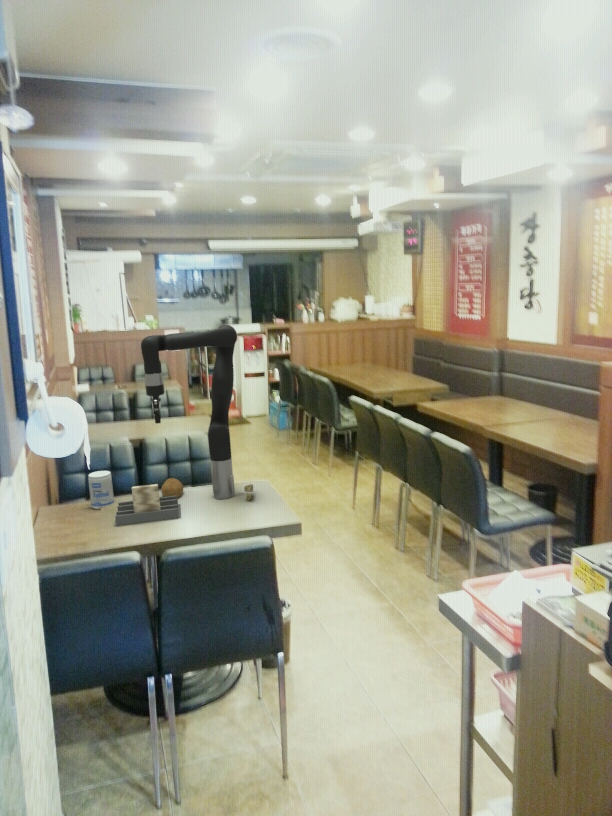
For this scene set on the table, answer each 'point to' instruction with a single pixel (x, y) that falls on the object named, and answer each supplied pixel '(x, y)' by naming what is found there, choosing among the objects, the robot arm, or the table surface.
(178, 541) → the table surface
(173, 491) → the potato
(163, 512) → the rack
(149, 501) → the sheet
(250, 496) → the mottled beige figurine
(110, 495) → the supplement tub
